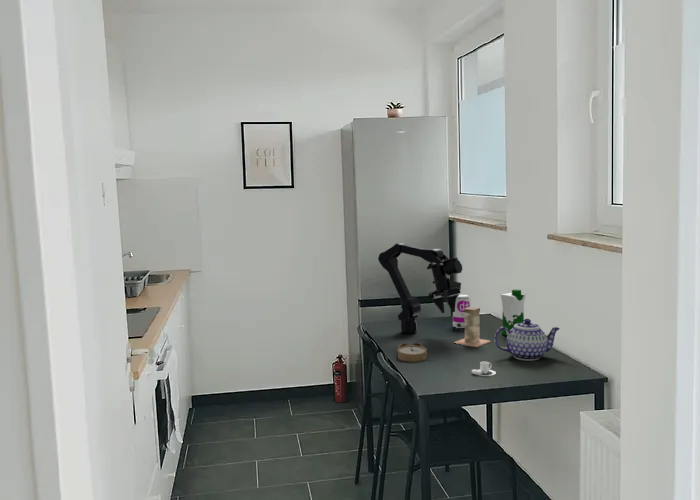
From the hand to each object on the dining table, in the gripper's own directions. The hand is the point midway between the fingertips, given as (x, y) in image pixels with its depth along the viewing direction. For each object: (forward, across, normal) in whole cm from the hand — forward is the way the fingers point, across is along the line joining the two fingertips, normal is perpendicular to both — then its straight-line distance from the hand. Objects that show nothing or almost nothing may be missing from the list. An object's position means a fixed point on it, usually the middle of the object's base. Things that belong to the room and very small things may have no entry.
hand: (448, 312), depth 287 cm
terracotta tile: (+14, -9, -3) cm, 17 cm away
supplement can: (+10, +18, -15) cm, 25 cm away
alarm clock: (+12, -17, +30) cm, 37 cm away
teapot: (+21, -38, -8) cm, 44 cm away
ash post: (+13, -9, -3) cm, 17 cm away
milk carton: (+16, -4, -26) cm, 31 cm away
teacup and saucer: (+20, -45, +19) cm, 53 cm away
